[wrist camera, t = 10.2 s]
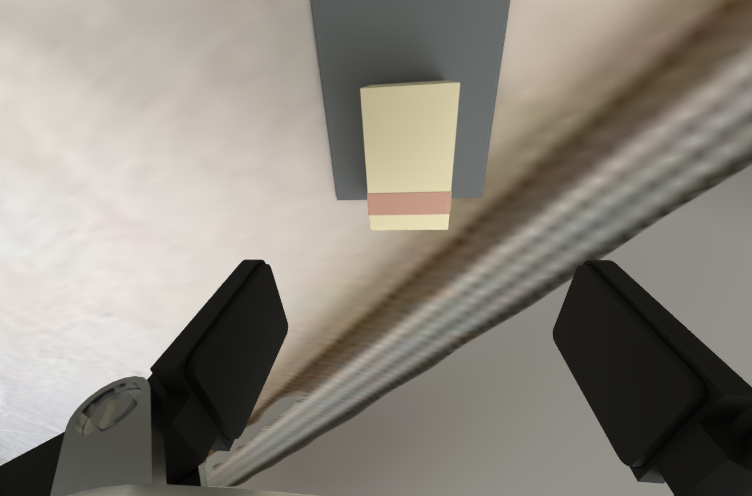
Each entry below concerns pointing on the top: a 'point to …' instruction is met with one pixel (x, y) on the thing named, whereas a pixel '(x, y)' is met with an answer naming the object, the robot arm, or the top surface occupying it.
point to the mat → (409, 73)
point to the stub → (409, 153)
